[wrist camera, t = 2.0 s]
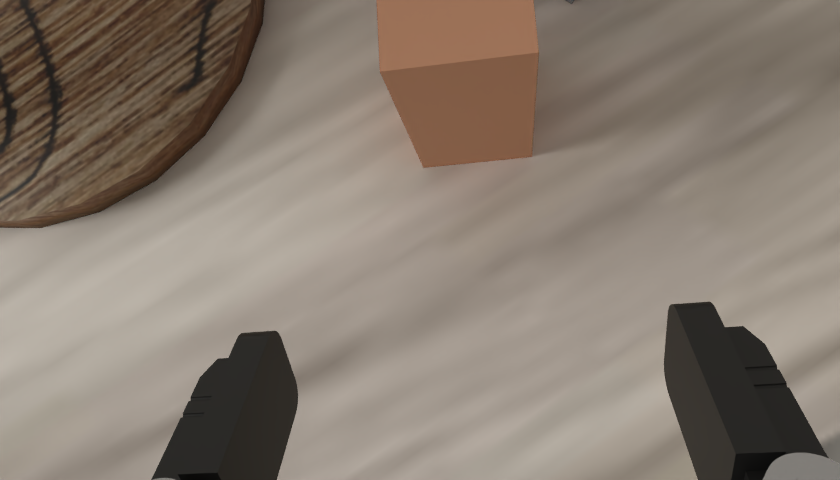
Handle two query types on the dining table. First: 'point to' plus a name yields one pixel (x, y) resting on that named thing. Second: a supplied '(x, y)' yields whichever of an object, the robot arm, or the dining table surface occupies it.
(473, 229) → the dining table surface
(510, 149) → the terracotta block
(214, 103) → the trivet
